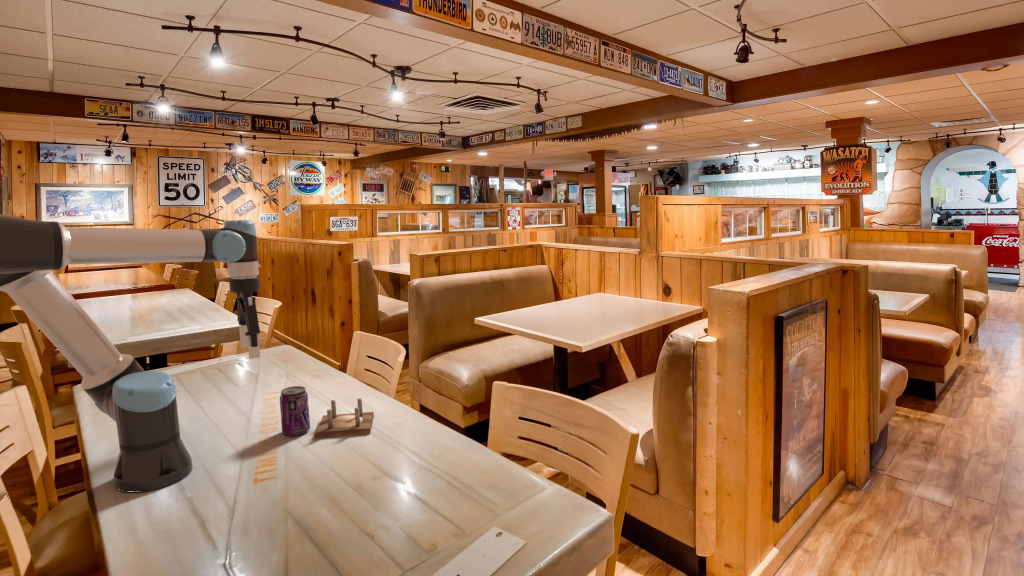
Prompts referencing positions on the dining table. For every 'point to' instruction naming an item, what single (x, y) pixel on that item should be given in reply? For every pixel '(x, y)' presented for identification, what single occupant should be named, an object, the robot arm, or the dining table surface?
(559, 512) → the dining table surface
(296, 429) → the beverage can
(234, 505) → the dining table surface
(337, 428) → the pin board
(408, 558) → the dining table surface
